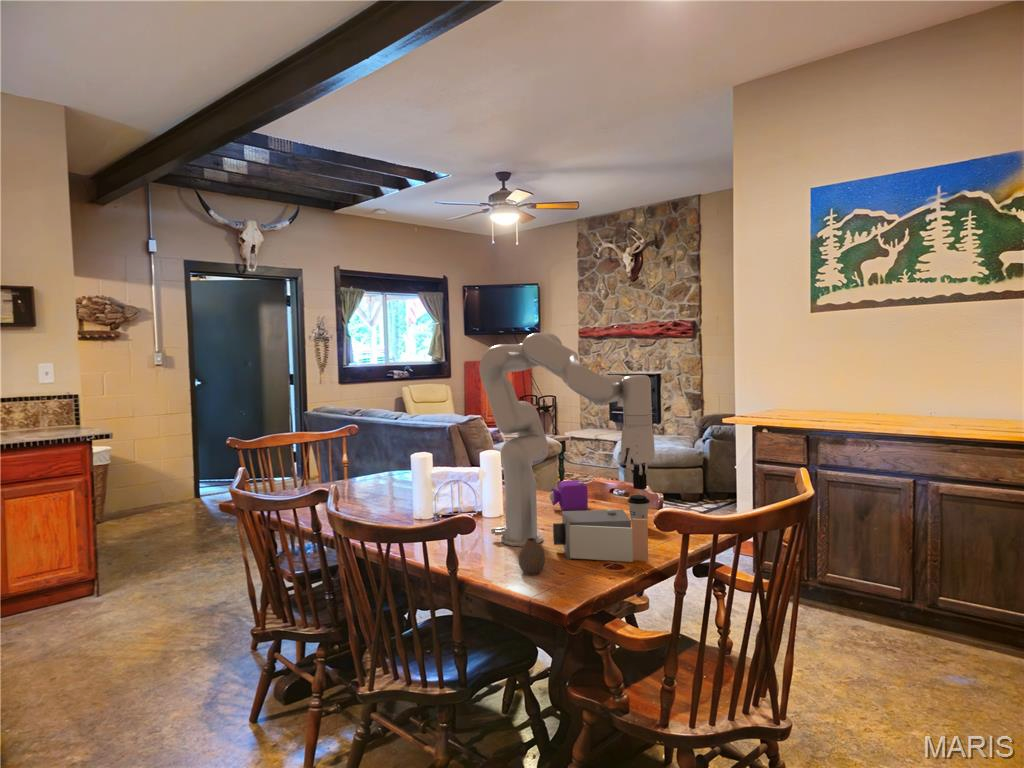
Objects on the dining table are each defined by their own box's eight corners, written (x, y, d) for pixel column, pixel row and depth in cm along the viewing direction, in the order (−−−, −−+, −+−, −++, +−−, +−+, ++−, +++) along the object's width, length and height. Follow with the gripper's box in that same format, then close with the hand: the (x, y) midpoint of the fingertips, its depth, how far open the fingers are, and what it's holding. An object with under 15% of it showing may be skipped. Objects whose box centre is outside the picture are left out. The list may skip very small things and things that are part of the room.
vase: (517, 568, 162) (516, 535, 161) (543, 567, 162) (542, 534, 162) (519, 578, 155) (518, 544, 154) (546, 576, 155) (546, 542, 155)
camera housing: (555, 558, 168) (554, 519, 168) (552, 544, 180) (551, 508, 180) (631, 556, 168) (631, 517, 168) (623, 542, 180) (622, 506, 180)
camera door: (566, 559, 167) (565, 516, 166) (566, 558, 168) (565, 515, 168) (648, 564, 162) (647, 520, 161) (648, 563, 163) (647, 518, 162)
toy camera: (546, 507, 224) (545, 480, 224) (580, 503, 229) (579, 477, 228) (556, 514, 214) (556, 486, 214) (592, 510, 218) (591, 482, 218)
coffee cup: (649, 524, 198) (649, 494, 198) (650, 530, 191) (650, 499, 191) (628, 524, 200) (627, 494, 199) (628, 530, 193) (627, 499, 192)
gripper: (641, 417, 171) (643, 482, 172) (609, 423, 161) (612, 492, 161) (664, 418, 166) (666, 485, 167) (634, 424, 155) (636, 495, 156)
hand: (640, 488), depth 164 cm, fingers closed
